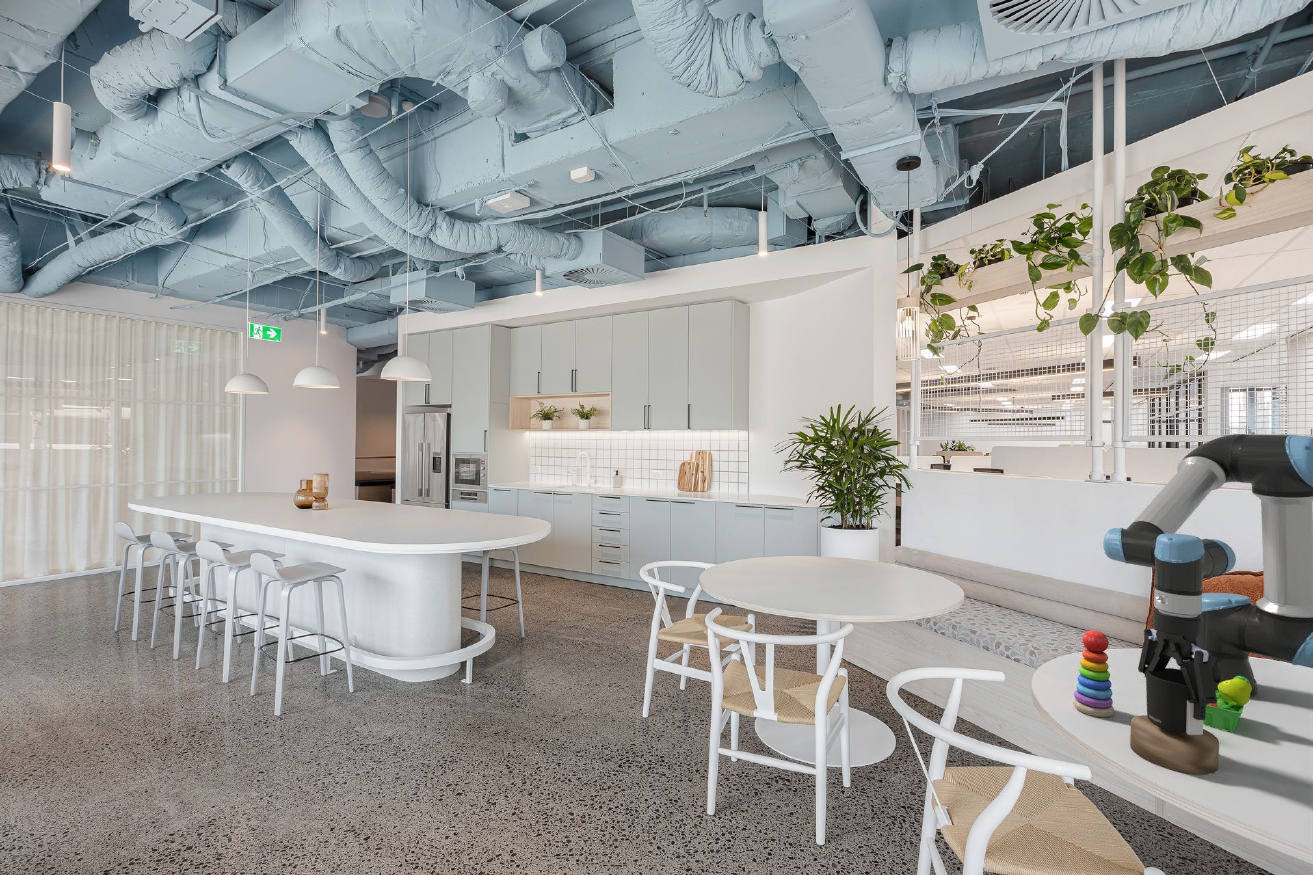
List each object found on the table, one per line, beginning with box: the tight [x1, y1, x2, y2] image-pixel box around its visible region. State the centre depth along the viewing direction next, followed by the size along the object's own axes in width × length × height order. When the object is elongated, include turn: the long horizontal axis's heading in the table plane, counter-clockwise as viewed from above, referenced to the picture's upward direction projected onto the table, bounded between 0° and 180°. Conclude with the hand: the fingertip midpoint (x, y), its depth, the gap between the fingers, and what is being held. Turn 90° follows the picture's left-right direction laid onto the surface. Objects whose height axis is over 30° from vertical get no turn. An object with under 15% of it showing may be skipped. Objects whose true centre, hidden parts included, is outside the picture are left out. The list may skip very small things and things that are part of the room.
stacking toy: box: [1072, 629, 1115, 718], centre depth 152 cm, size 8×8×19 cm
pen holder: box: [1145, 667, 1199, 734], centre depth 132 cm, size 9×9×10 cm
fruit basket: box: [1203, 676, 1252, 733], centre depth 146 cm, size 11×9×11 cm
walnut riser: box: [1129, 714, 1220, 775], centre depth 132 cm, size 14×14×5 cm
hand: (1174, 721), depth 132 cm, fingers closed on pen holder, 9 cm apart
